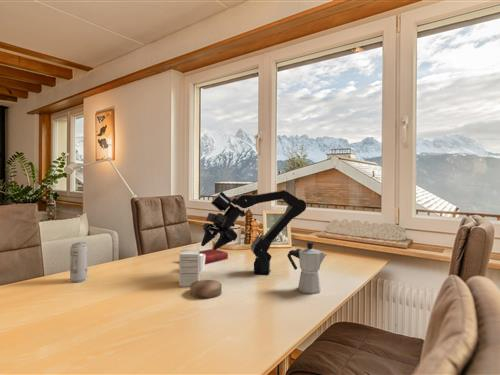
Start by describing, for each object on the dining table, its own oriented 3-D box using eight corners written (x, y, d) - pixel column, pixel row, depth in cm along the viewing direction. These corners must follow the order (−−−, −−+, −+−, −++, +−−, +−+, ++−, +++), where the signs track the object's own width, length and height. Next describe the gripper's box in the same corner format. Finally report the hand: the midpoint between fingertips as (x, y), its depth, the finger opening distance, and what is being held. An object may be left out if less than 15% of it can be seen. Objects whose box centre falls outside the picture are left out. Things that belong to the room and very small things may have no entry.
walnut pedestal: (225, 289, 117) (225, 281, 117) (215, 300, 106) (215, 291, 106) (197, 286, 119) (197, 278, 119) (185, 296, 109) (185, 288, 109)
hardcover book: (228, 259, 162) (228, 251, 162) (196, 267, 147) (196, 258, 147) (212, 255, 170) (212, 248, 170) (180, 263, 155) (180, 254, 155)
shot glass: (202, 272, 137) (202, 257, 137) (187, 271, 139) (187, 256, 138) (207, 268, 144) (207, 253, 144) (193, 267, 145) (193, 252, 145)
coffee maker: (327, 288, 119) (328, 241, 119) (325, 296, 111) (326, 245, 111) (289, 283, 124) (289, 238, 124) (284, 290, 116) (285, 242, 116)
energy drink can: (89, 280, 125) (89, 243, 125) (73, 283, 121) (73, 245, 120) (84, 277, 129) (84, 241, 129) (67, 280, 125) (67, 243, 124)
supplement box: (181, 280, 126) (181, 249, 126) (199, 280, 127) (200, 249, 127) (178, 286, 119) (178, 253, 119) (198, 286, 119) (198, 253, 119)
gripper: (206, 204, 138) (183, 232, 131) (231, 207, 123) (207, 238, 117) (221, 220, 143) (200, 248, 136) (246, 225, 128) (225, 256, 122)
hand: (207, 247), depth 127 cm, fingers open, 9 cm apart
